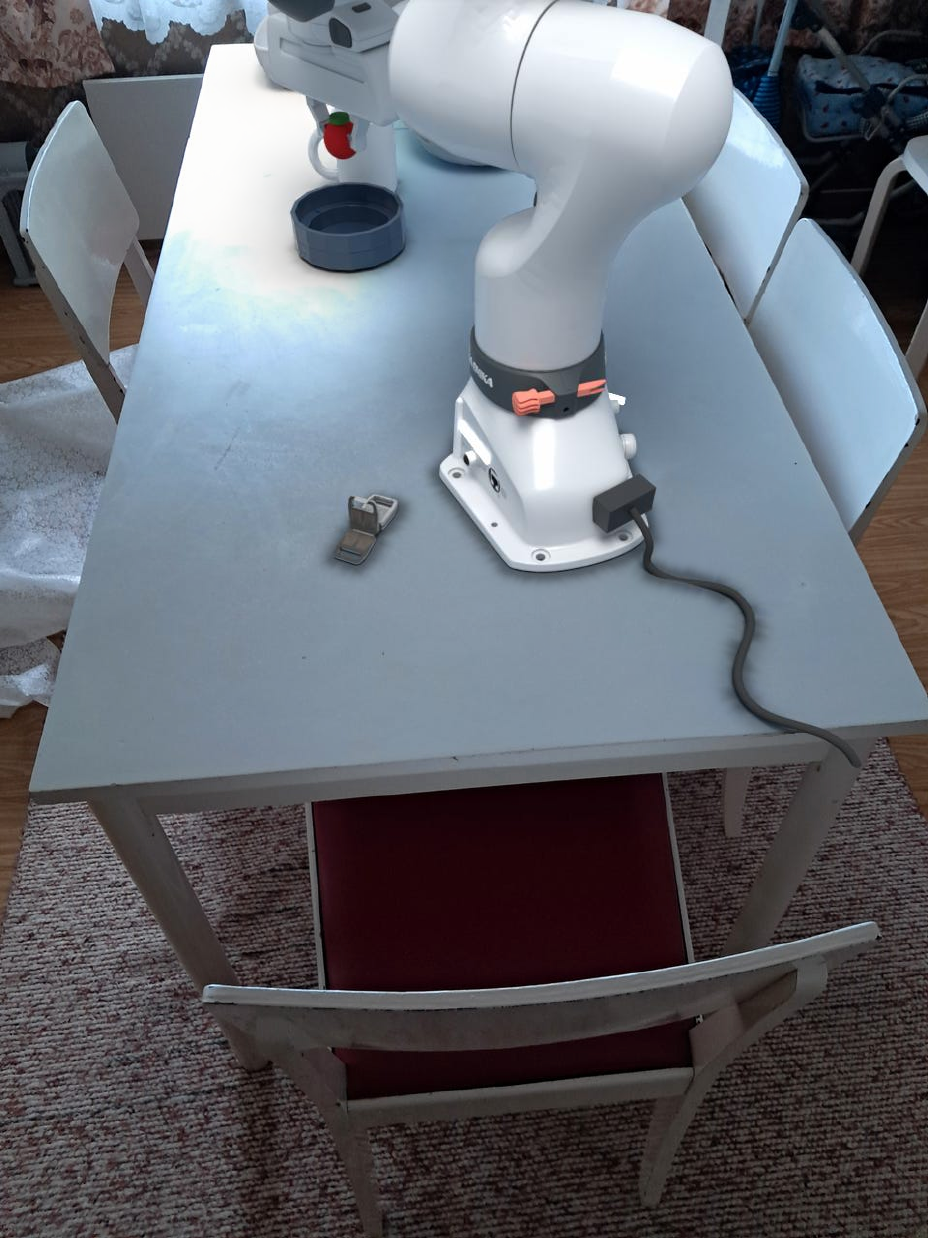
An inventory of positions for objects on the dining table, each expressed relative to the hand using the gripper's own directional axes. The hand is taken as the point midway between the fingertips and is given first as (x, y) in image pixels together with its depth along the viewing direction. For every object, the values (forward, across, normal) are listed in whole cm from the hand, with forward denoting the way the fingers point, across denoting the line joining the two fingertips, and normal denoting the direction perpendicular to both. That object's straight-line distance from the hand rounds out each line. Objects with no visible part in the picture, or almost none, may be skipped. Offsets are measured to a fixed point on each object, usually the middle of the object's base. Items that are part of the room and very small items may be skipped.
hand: (342, 142), depth 104 cm
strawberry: (+2, 0, 0) cm, 2 cm away
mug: (+13, -11, +10) cm, 20 cm away
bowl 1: (+13, -48, +36) cm, 61 cm away
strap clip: (+13, +40, -35) cm, 55 cm away
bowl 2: (+13, 0, 0) cm, 13 cm away
